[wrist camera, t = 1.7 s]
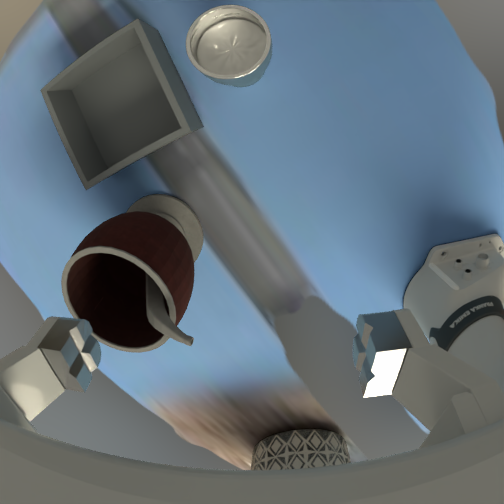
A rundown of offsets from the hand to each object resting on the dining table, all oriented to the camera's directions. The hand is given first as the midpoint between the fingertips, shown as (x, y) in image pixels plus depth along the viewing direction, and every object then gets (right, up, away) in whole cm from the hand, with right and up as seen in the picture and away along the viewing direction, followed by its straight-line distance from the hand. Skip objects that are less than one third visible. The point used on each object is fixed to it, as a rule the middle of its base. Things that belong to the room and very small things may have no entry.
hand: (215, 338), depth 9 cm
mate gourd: (-11, +5, +35) cm, 37 cm away
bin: (-15, +22, +26) cm, 37 cm away
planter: (+13, -47, +60) cm, 77 cm away
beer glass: (0, +25, +24) cm, 35 cm away
